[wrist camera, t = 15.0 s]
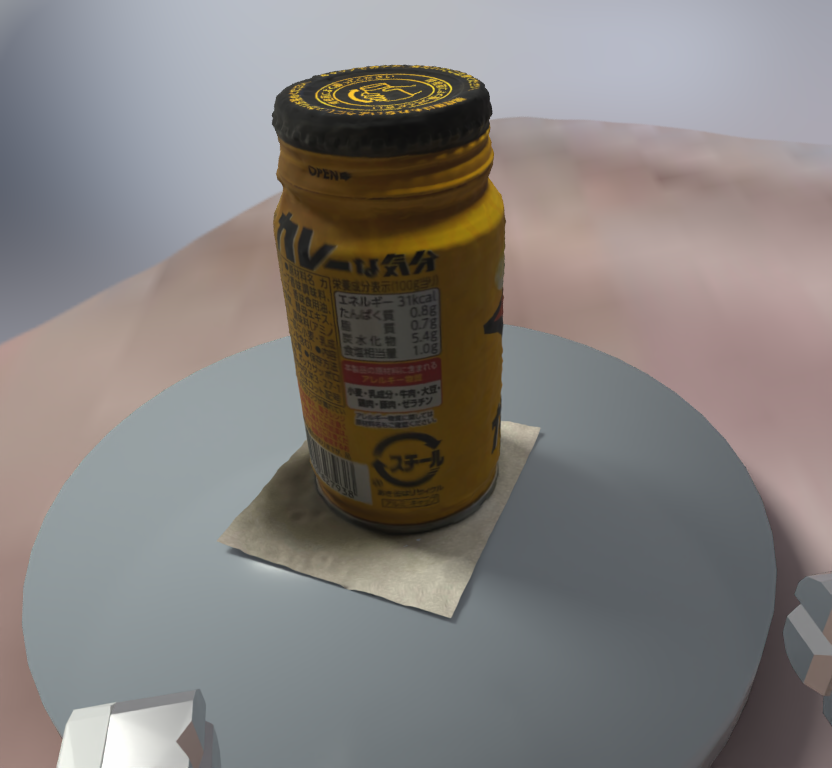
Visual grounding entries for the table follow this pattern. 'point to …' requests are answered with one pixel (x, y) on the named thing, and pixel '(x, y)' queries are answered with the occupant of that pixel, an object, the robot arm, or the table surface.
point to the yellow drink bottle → (390, 336)
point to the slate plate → (406, 625)
